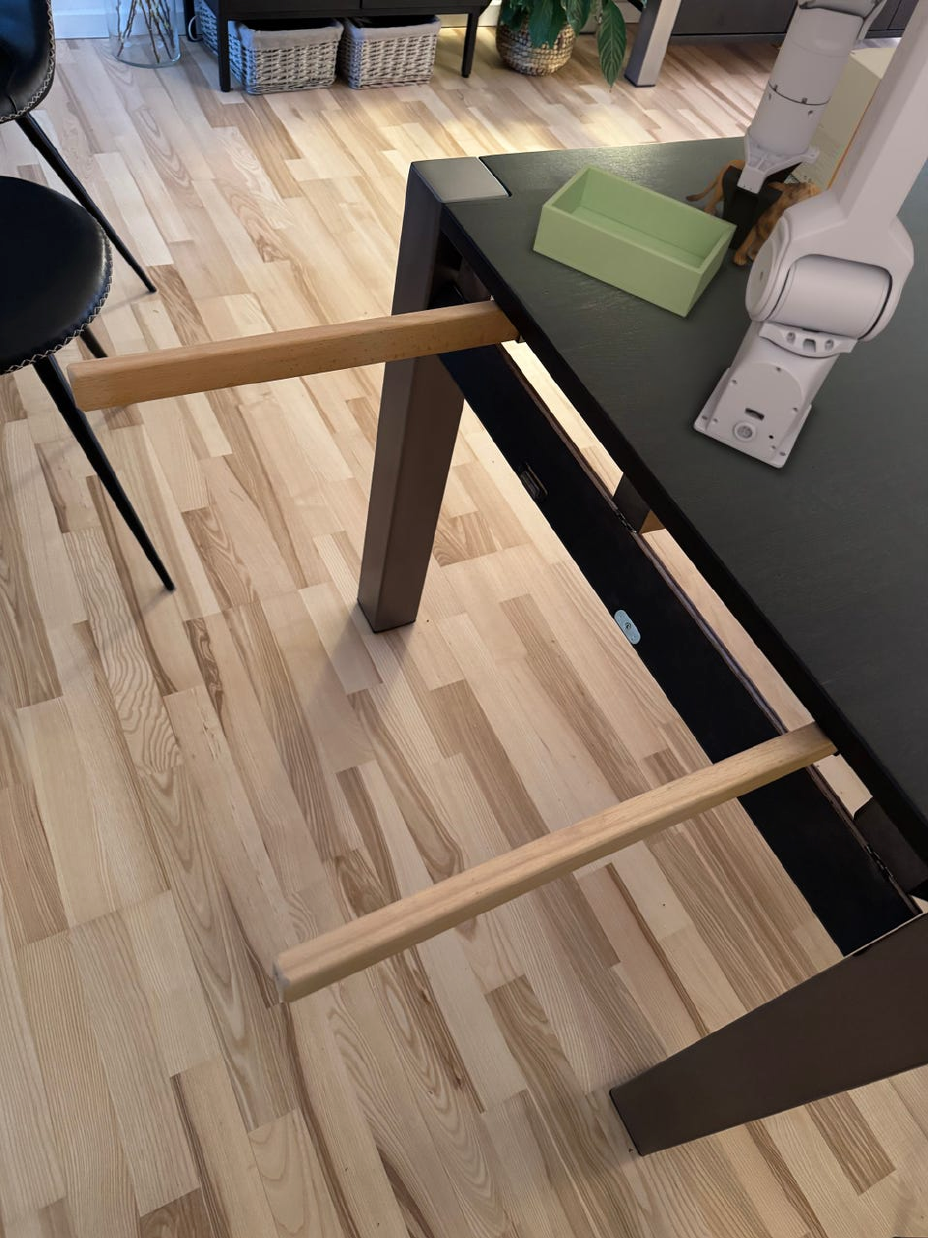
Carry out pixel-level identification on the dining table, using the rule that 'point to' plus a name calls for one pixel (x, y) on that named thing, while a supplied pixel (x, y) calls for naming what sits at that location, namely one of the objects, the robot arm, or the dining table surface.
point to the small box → (844, 114)
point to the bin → (633, 238)
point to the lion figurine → (769, 218)
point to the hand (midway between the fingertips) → (739, 229)
